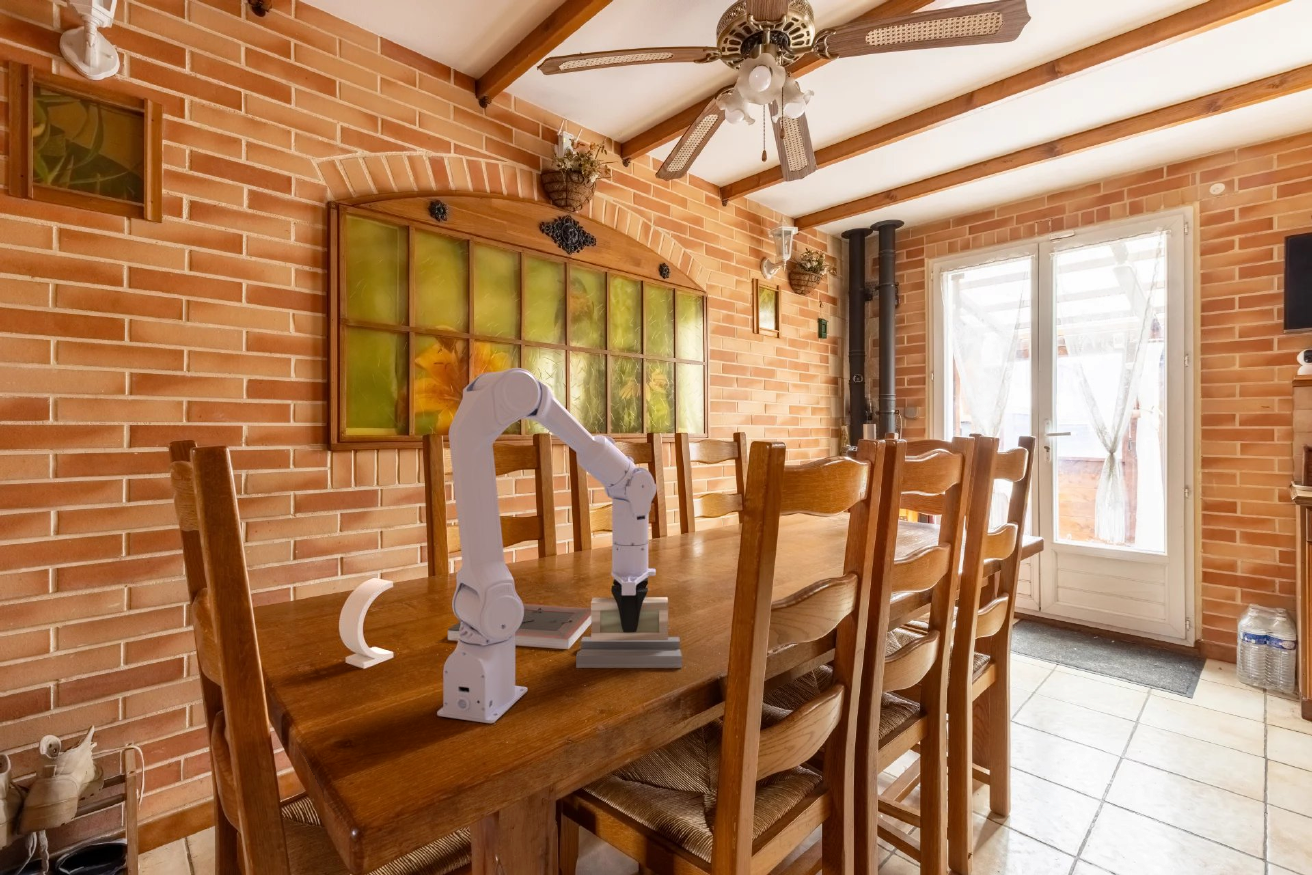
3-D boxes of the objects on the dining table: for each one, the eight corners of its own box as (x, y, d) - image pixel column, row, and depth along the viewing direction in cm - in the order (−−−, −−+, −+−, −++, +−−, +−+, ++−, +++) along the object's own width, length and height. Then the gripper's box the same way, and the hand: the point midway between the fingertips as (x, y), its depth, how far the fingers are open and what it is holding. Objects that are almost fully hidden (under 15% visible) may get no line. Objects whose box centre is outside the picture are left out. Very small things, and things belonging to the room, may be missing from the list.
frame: (668, 640, 91) (668, 602, 91) (591, 640, 91) (591, 602, 91) (667, 634, 94) (667, 597, 94) (592, 634, 94) (592, 597, 94)
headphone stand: (393, 657, 92) (393, 581, 92) (357, 671, 87) (357, 591, 87) (375, 651, 94) (374, 577, 94) (339, 664, 89) (338, 586, 89)
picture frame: (447, 643, 100) (568, 653, 96) (447, 629, 100) (568, 637, 96) (491, 613, 116) (596, 620, 112) (491, 600, 116) (596, 607, 112)
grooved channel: (681, 667, 89) (681, 656, 89) (576, 667, 88) (576, 655, 88) (679, 647, 97) (679, 636, 97) (582, 647, 96) (582, 636, 96)
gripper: (656, 552, 85) (655, 644, 85) (655, 533, 99) (654, 613, 100) (607, 552, 85) (607, 644, 85) (613, 533, 99) (613, 613, 100)
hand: (630, 627), depth 92 cm, fingers closed on frame, 2 cm apart
